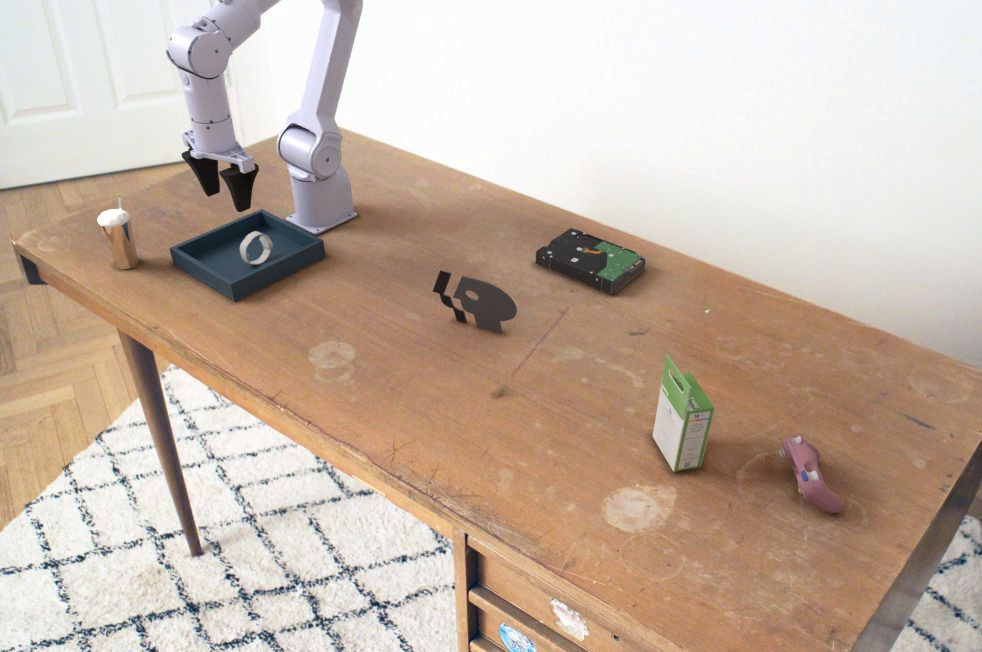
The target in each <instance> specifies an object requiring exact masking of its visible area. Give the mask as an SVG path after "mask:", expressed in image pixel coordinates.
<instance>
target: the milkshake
mask: <svg viewBox="0 0 982 652" xmlns="http://www.w3.org/2000/svg"><path fill="white" fill-rule="evenodd" d="M117 203H118V204H117V205H118V208H110V209H107V210H105V211H102V212H101V213H100V214H99V215H98V217H97V218H96V221H97V223H98V225H99V228H100V230H101V232H102V234H103V236H104V239H105V241H106V243H107V245H108V247H109V250H110V253H111V255H112V258H113V260H114V262H115V264H116V267H117V268H118V269H120V270H130V269H134V268H136V267H137V266H138V265H139V258H138V253H137V247H136V243H135V238H134V232H133V227H132V226H133V225H132V220H131V216H130V213H129V212H128V211H126V210H124V209H123V207H122V197H121V196H118V197H117Z"/></svg>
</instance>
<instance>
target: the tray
mask: <svg viewBox="0 0 982 652" xmlns="http://www.w3.org/2000/svg"><path fill="white" fill-rule="evenodd" d="M254 231H258V232H260V233H262V234H265V235H267V236H268V237H269V238H270V239H271V241H272V243H273V249H272V252H271V253H269V254H270V255H269V257H268V259H267V260H266V261H265V262H264V263H262V264H260V265H251V264H249V263H247V262H244V261H243V259H242V257H241V254H240V245H241V243H242V241H243V240H244V239H245V237H246V236H247V235H248V234H250V233H252V232H254ZM259 239H260V235H259V236H257V237H255V238H254V239H253V240H252V241H251V243H250V244H249V245H248V247H247V253H248V255H249V259H248V260H249V261H255V260H257V259H258V258H260V256H261V255H262V253H263V251H264V249H263V245H262V243H261V241H260V240H259ZM324 241H325V240H324V239H322V238H320V237H318V236H317V235H314V234H312V233H310V232H308V231H306V230H304V229H302V228H300V227H298V226H296V225H294V224H292V223H290V222H288V221H286V219H283V218H281V217H279V216H278V215H275V214H273V213H272V212H270V211H267V210H265V209H264V208H260V209H258V210H255V211H253V212H250V213H248V214H246V215H244V216H241V217H239V218H236V219H234V220H231V221H230V222H227V223H225V224H222V225H220V226H218V227H216V228H213V229H211V230H208V231H206V232H203V233H201V234H199V235H196V236H194V237H192V238H189V239H187V240H185V241H183V242H179V243H178V244H176V245H173V246H171V247H169V253H170V256H171V260H172V265H173V266H174V267H176V268H178V269H179V270H181V271H182V272H184V273H186V274H187V275H189V276H190V277H193V278H194V279H196V280H197V281H199V282H200V283H203V284H205V286H207V287H209V288H211V289H212V290H214V291H215V292H217V293H218V294H220V295H222V296H224V297H225V298H227V299H229V300H231V301H232V302H234V303H235V302H237V301H240V300H241V299H244V298H245V297H248V296H250V295H252V294H254V293H256V292H258V291H260V290H262V289H264V288H266V287H268V286H270V285H272V284H274V283H276V282H278V281H280V280H282V279H284V278H286V277H288V276H290V275H292V274H295V273H296V272H299V271H300V270H303V269H304V268H307V267H309V266H310V265H312V264H315V263H316V262H319V261H321V260H323V259H325V258H327V255H326V249H325V248H326V247H325V242H324ZM265 249H266V248H265Z"/></svg>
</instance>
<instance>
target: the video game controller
mask: <svg viewBox="0 0 982 652" xmlns="http://www.w3.org/2000/svg"><path fill="white" fill-rule="evenodd" d="M780 441H781V447H782V448H781V449H779V450H778V454H779V457H780V458H781V459H782V460H784V459H786V460H787V461H788V462H789V464H790V466H791V469H792V470H793V474H794V476H795V479H796V480H797V486H798V488H797V491H798V494H799V495H801V496H802V495H803V498H804V500H805V501H806V502H807V503H809V504H811V505H812V506H813V507H815V508H816V509H818V510H820V511H822V512H825V513H830V514H837V513H839V512H840V511H842V510H843V508H844V501H843V499H842V498H841V497H840V496H839V495H837V494H836V493H834V492H833V491H832V490H831V489H829V488H828V487H827V485H826V483H825V480H824V477H823V474H822V472H821V470H820V468H819V460H820V458H821V452H820V450H819V449H818V447H815V446H814V445H813V444H811V443H809V442H808V441H807V440H806V439H805V438H804V437H803V436H802V435H790V436H786V437H784V438H781V439H780Z"/></svg>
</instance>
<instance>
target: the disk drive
mask: <svg viewBox="0 0 982 652" xmlns="http://www.w3.org/2000/svg"><path fill="white" fill-rule="evenodd" d="M646 260H647V259H646V258H645V256H643V254H641V253H638V252H636V251H635V250H631V249H630V248H626V247H623V246H621V245H618V244H615V243H613V242H610V241H608V240H606V239H603V238H600V237H597V236H594V235H592V234H590V233H587V232H584V231H582V230H579V229H576V228H573V227H570V228H568V229H567V230H565V231H564V232H562V233H561V234H559V235H558V236H556V237H555V238H554V239H552V240H551V241H550V242H549V243H548V245H543V246H542V247H540V248H538V249H537V250H536V251H535V264H536V265H538V266H539V267H542V268H544V269H546V270H549V271H551V272H554V273H555V274H559V275H561V276H563V277H567V278H569V279H571V280H575V282H576V281H577V282H578V283H581V284H583V285H586V286H588V287H591V288H593V289H595V290H598V291H600V292H603V293H606V294H610V295H613V294H615V293H616V292H618V291H619V290H620V289H622V288H623V287H624V286H625V285H626V284H628V283H629V282H630V281H632V280H633V279H634V278H635V277H636V276H639V274H640V273H642V272H643V270H645V267H646Z"/></svg>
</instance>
